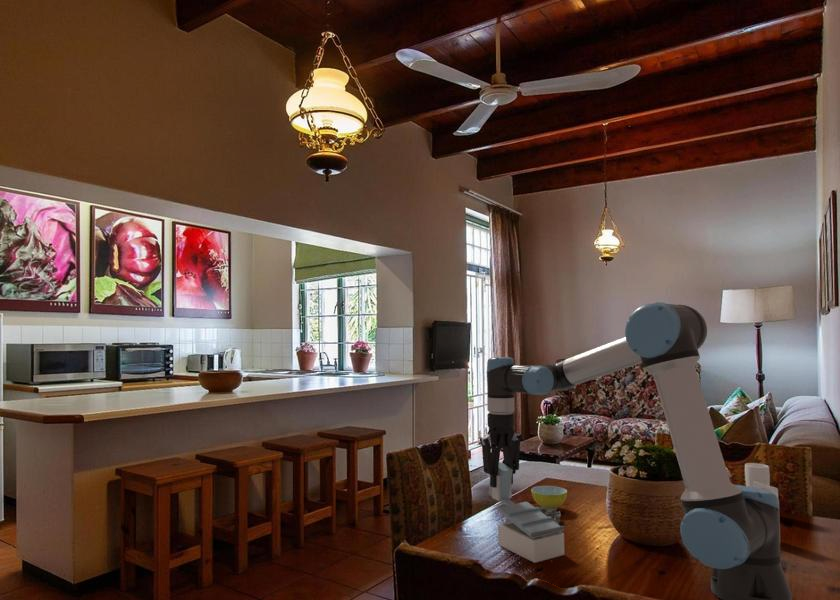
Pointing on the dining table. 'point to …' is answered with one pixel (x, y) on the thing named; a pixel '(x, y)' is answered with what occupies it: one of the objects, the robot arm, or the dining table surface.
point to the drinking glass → (757, 474)
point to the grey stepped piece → (523, 510)
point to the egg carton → (551, 514)
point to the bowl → (549, 496)
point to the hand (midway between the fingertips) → (501, 497)
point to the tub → (530, 543)
